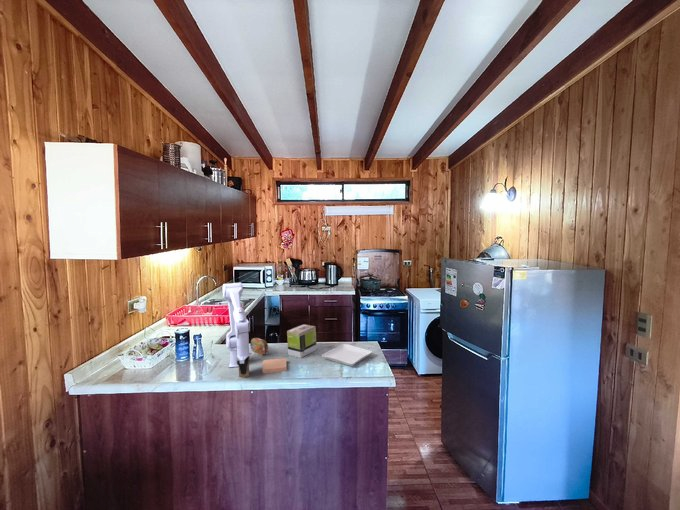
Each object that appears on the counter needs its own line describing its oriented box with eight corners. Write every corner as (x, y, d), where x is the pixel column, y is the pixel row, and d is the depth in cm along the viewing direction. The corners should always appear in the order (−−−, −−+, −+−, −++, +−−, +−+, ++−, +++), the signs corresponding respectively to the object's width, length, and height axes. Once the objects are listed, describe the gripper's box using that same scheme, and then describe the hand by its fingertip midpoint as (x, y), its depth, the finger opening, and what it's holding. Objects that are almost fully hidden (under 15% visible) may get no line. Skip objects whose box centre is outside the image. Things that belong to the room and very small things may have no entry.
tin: (250, 350, 196) (249, 336, 195) (254, 349, 198) (254, 335, 197) (264, 356, 185) (264, 342, 185) (269, 355, 188) (268, 341, 187)
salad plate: (352, 369, 167) (352, 363, 167) (320, 360, 180) (320, 354, 180) (373, 356, 184) (373, 350, 184) (343, 348, 197) (343, 343, 196)
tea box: (304, 347, 200) (303, 323, 199) (317, 350, 194) (316, 326, 193) (287, 355, 187) (286, 330, 186) (300, 358, 182) (299, 333, 181)
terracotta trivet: (263, 364, 176) (263, 360, 176) (285, 362, 178) (285, 358, 178) (262, 374, 164) (262, 369, 164) (286, 371, 166) (286, 367, 166)
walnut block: (240, 373, 164) (239, 362, 164) (249, 372, 165) (248, 361, 164) (239, 377, 160) (238, 365, 159) (248, 376, 161) (248, 365, 160)
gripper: (250, 350, 155) (251, 377, 156) (252, 339, 169) (253, 365, 170) (234, 351, 153) (236, 379, 155) (238, 341, 168) (239, 366, 169)
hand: (244, 371), depth 162 cm, fingers closed on walnut block, 4 cm apart
